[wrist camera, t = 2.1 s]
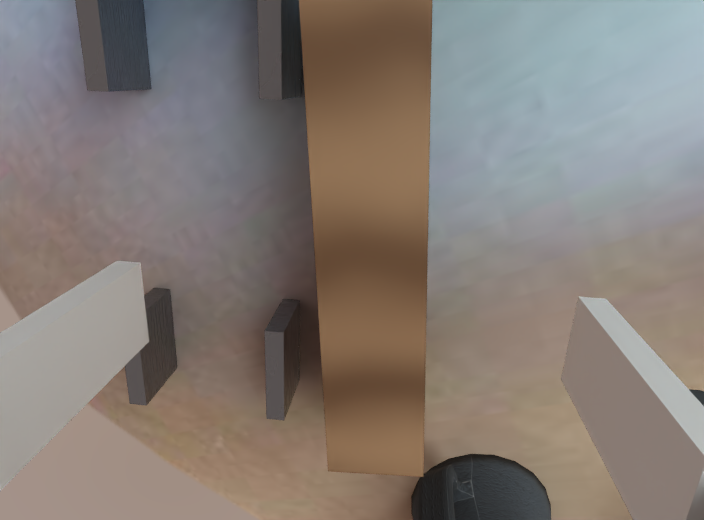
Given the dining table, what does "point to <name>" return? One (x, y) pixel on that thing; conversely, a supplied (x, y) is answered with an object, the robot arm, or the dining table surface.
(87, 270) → the dining table surface
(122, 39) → the slat support bracket
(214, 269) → the dining table surface
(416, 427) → the walnut slat
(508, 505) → the mug
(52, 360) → the robot arm
